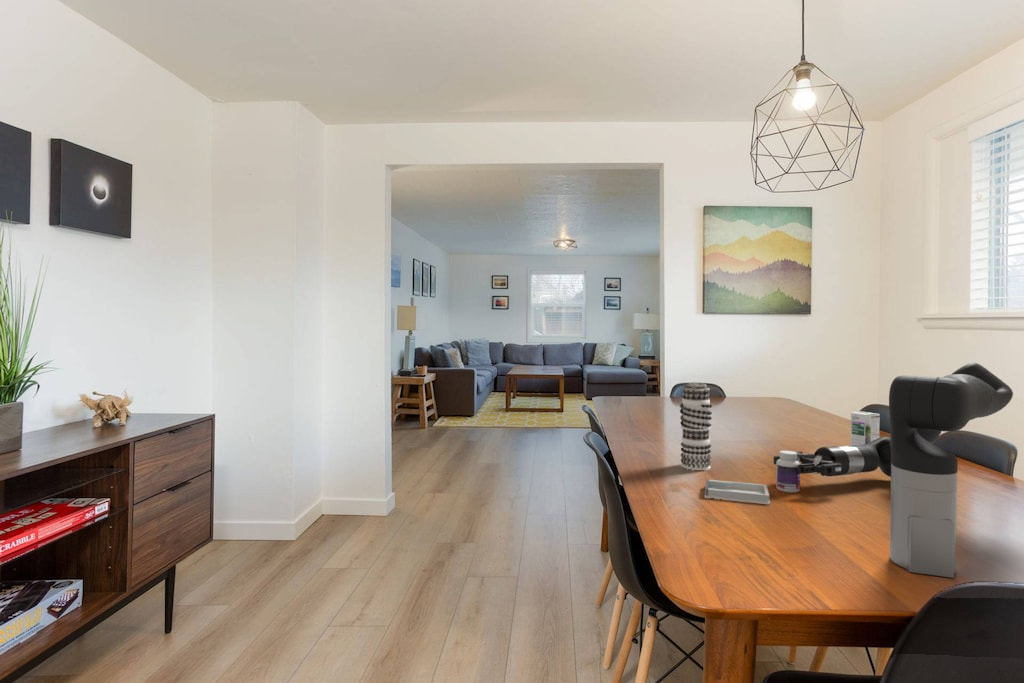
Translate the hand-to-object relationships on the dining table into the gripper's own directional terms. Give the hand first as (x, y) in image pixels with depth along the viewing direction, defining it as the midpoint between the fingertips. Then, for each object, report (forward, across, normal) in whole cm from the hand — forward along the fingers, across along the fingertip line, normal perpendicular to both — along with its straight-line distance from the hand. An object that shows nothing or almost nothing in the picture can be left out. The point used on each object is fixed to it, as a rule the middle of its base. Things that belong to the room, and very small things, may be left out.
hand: (786, 464), depth 136 cm
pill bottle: (0, 0, +7) cm, 7 cm away
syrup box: (-46, -20, +7) cm, 51 cm away
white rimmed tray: (+15, 0, +6) cm, 16 cm away
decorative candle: (+10, -26, +7) cm, 28 cm away
